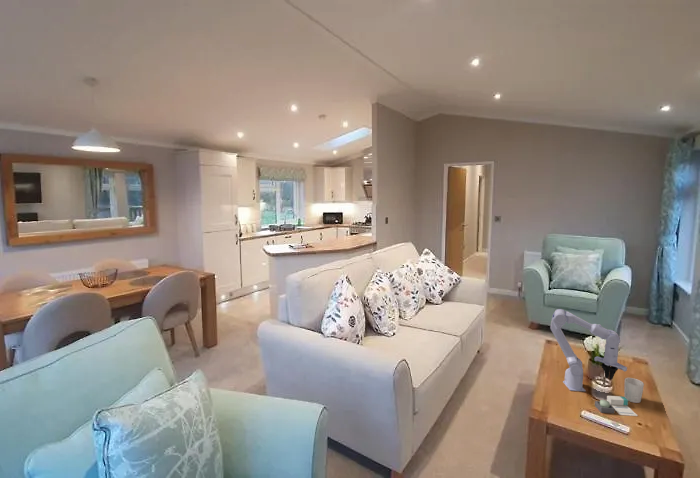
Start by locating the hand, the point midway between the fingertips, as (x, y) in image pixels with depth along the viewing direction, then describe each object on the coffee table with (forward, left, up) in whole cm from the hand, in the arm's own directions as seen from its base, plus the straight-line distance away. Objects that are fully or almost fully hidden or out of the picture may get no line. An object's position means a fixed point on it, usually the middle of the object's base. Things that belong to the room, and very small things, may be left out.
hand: (609, 378), depth 192 cm
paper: (+14, 0, -9) cm, 17 cm away
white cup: (+3, +10, -10) cm, 14 cm away
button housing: (+14, -9, -9) cm, 19 cm away
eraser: (+8, 0, -10) cm, 13 cm away
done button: (+14, -9, -9) cm, 19 cm away
